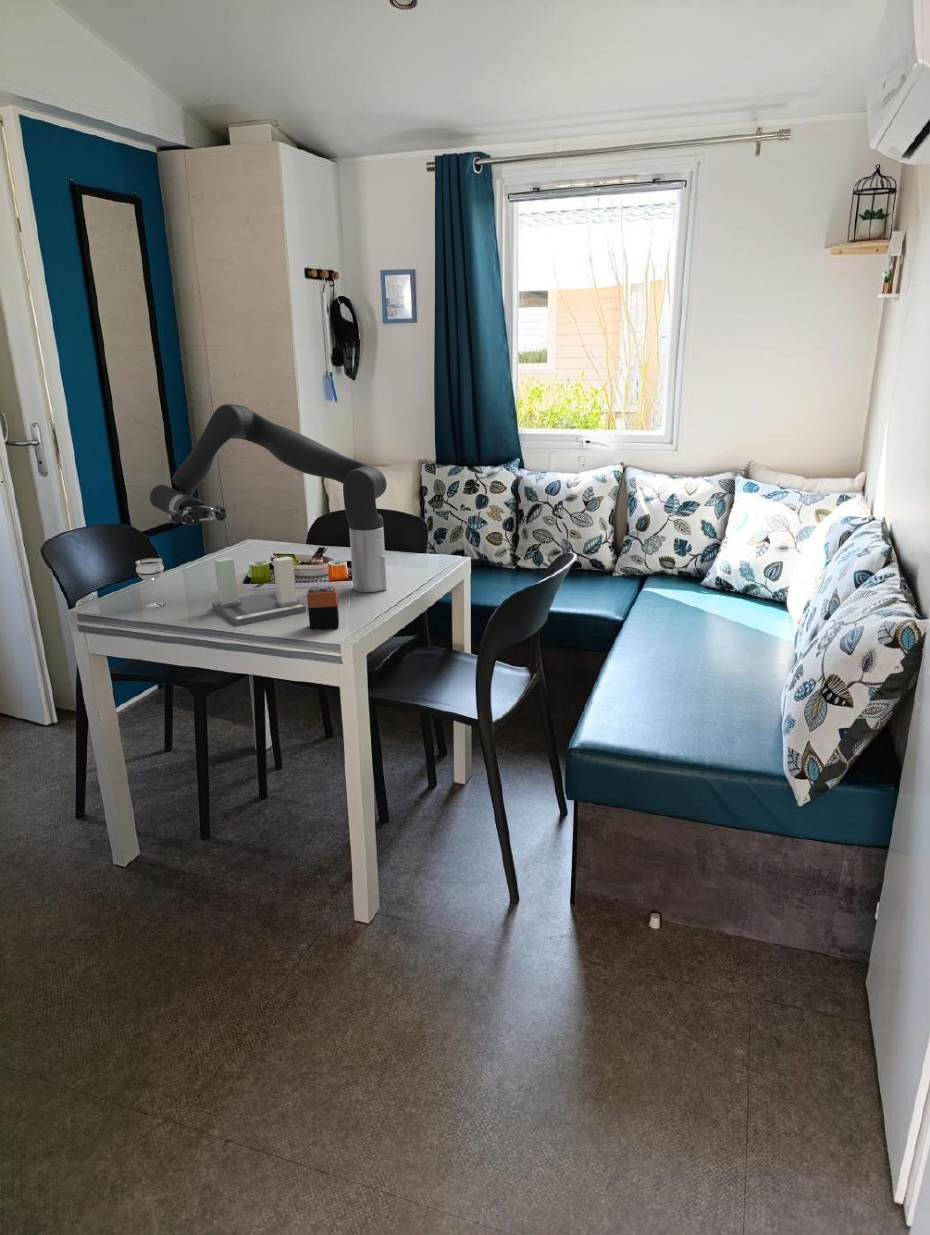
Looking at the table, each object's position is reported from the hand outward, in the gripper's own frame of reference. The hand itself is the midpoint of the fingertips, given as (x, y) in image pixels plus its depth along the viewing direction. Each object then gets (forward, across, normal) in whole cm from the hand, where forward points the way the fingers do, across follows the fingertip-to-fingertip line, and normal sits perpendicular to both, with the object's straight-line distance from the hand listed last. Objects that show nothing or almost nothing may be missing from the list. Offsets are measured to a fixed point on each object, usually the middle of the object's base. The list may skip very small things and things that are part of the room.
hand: (206, 519), depth 211 cm
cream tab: (+19, +12, +20) cm, 30 cm away
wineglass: (-6, -14, +22) cm, 27 cm away
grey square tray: (+15, +6, +22) cm, 27 cm away
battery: (+37, +14, +22) cm, 46 cm away
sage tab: (+10, 0, +20) cm, 23 cm away
